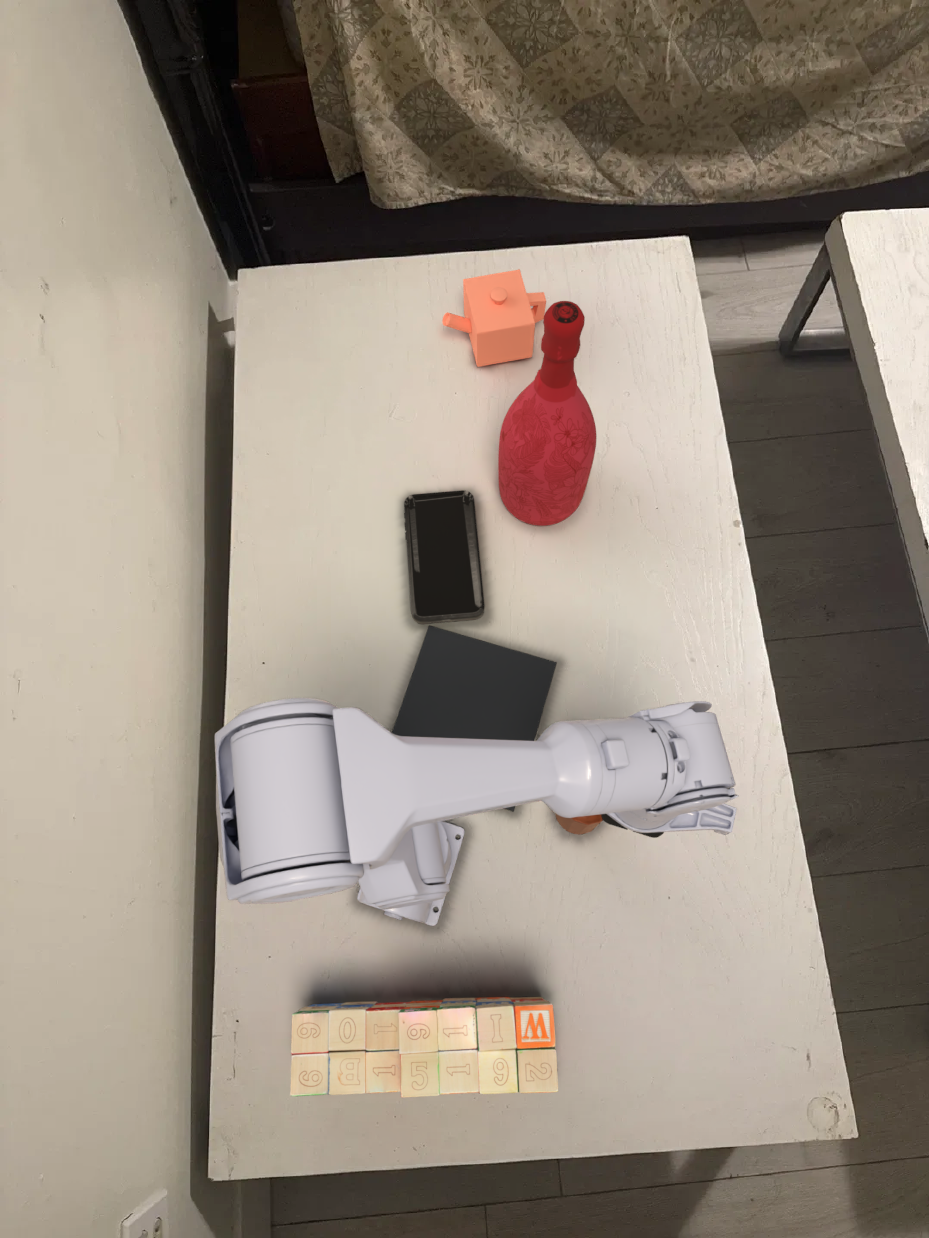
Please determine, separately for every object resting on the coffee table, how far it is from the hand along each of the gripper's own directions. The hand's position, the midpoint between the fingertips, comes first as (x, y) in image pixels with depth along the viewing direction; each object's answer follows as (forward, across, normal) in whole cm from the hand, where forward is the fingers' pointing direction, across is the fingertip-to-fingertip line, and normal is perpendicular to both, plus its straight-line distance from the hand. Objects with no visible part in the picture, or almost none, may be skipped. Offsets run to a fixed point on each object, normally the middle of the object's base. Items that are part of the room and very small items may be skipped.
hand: (625, 808), depth 78 cm
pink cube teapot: (+9, +28, -51) cm, 59 cm away
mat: (+8, +16, -6) cm, 19 cm away
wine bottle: (+9, +16, -33) cm, 38 cm away
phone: (+8, +24, -22) cm, 34 cm away
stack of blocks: (+9, +11, +24) cm, 28 cm away
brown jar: (+8, +3, 0) cm, 9 cm away
